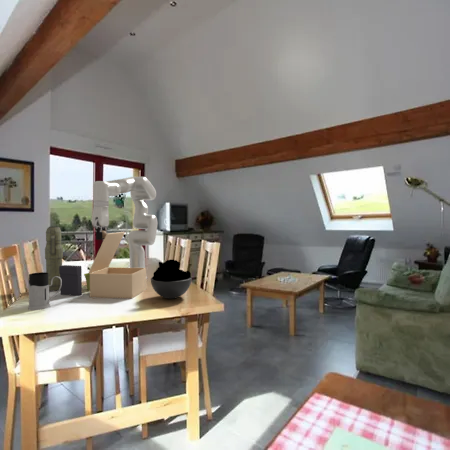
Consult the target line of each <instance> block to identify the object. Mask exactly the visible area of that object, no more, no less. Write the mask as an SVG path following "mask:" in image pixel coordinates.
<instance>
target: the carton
mask: <svg viewBox="0 0 450 450" xmlns="http://www.w3.org/2000/svg"><path fill="white" fill-rule="evenodd" d="M146 276H147V267H145V268H130V267H113V266H112V267H110V266H109V267H107V268H104V269H101V270H98V271H95V272H92V273H90V290H89V298H92V299H95V298H96V299H97V298H99V299H134V298H135V297H137V296H138V295H141V294H142V293H143V292H145V291H146V290H147V279H146Z"/></svg>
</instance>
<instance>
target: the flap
mask: <svg viewBox="0 0 450 450" xmlns="http://www.w3.org/2000/svg"><path fill="white" fill-rule="evenodd" d="M125 233H126V232H125V231H120V232H119V231H118V232H110V233H109V232H108V231H107V232H106V231H102V238H105V239H103V241H102V243H101V246H100V248H99V249H98V251H97V254H96V256H95V258H94V260H93V261H92V262H93V263H92V264H91V266H90V269H89V271H88V273H89V274H90V273H93V272H96V271H99V270H102V269H105V268H108V267H110V265H111V264H112V263H111V262H112V261H113V259H114V256H115V254H116V252H117V250H118V248H119V246H120V243H121V242H122V239H123V237H124V235H125Z"/></svg>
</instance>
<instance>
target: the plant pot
mask: <svg viewBox="0 0 450 450" xmlns="http://www.w3.org/2000/svg"><path fill="white" fill-rule="evenodd" d="M83 277H84V278H85V282H86V289H87V291H90V274H89V272H87V273H84V274H83Z"/></svg>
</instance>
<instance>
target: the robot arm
mask: <svg viewBox="0 0 450 450" xmlns="http://www.w3.org/2000/svg"><path fill="white" fill-rule="evenodd" d="M92 187H93V188H92V189H93V191H92V192H93V196H92V197H93V209H92V219H91V224H92V226H93V228H94V229H95V240H96V241H97V240H98V241H100V240H101V241H102V240H104V239H105V238H102V231H106V232H107V233H108V227H109V223H110V215H109V208H110V206H109V205H110V202H109V201H110V198H109V197H116V196H119V195H120V194H126V193H129V192H130V193H129V194H130V197H131V200H132V202H133V204H134V214H133V219H132V220H133V221H132V226H133V228H135V229H137V230H131V231H129V233H128V234H127V241H128V246H129V247H128V248H129V268H146V258H145V257H146V253H145V249H144V247H143V246H152V245H154V244H155V241H156V238H157V230H158V225H159V224H158V218H157V216H156V215H155V214H148V213H149V207H148V205H147V203H146V202H145V201H153V200H155V199H156V197H157V191H156V188H155V187H154V186H153V184H152V183H151V181H150V180H149V179H148V178H147V177H146V176H129V177H125V178H119V179H113V180H105V181H104V180H103V181H102V180H96V181H94V182H93V186H92ZM147 279H148V276H147V275H146V280H147Z"/></svg>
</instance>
